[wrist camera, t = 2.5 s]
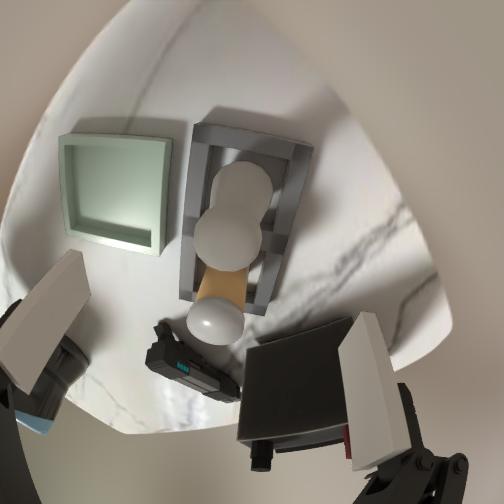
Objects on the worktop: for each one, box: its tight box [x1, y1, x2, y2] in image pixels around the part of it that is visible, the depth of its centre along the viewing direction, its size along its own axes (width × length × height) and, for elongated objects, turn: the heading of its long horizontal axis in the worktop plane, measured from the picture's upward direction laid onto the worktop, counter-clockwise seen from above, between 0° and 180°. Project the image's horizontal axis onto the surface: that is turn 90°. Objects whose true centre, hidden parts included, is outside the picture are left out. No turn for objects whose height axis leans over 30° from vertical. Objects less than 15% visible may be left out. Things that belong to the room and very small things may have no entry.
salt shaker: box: [193, 161, 274, 272], centre depth 22 cm, size 6×6×13 cm
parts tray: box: [59, 133, 173, 257], centre depth 27 cm, size 14×13×2 cm
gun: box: [145, 322, 242, 403], centre depth 42 cm, size 4×20×10 cm, turn 31°
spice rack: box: [179, 123, 314, 345], centre depth 25 cm, size 11×21×10 cm, turn 169°
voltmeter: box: [236, 316, 355, 472], centre depth 32 cm, size 16×16×20 cm
